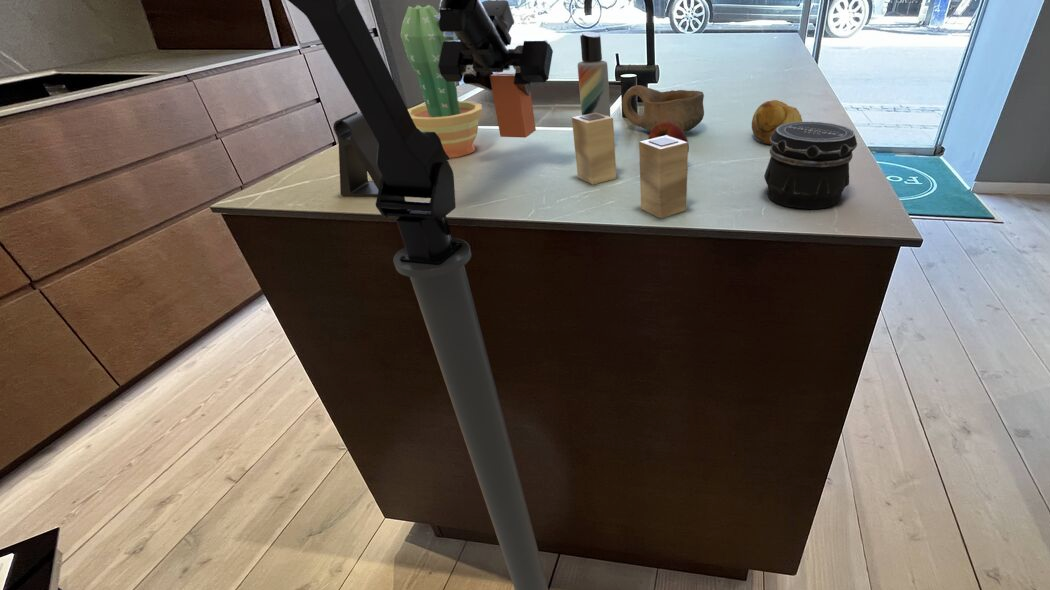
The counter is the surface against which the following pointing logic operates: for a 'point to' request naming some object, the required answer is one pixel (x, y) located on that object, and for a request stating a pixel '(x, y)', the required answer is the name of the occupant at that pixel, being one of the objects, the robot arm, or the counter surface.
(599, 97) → the lotion bottle
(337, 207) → the counter surface
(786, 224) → the counter surface
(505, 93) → the terracotta block
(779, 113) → the bread roll
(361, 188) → the phone stand
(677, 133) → the apple
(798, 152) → the container
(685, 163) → the maple block front
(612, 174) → the maple block back
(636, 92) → the bowl
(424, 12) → the potted cactus
